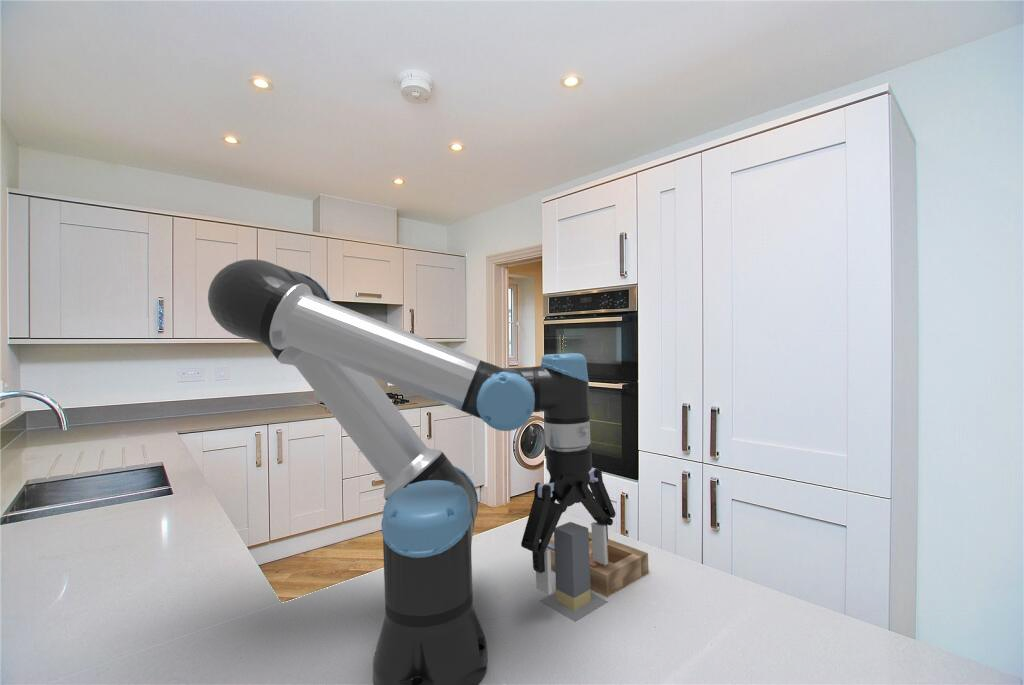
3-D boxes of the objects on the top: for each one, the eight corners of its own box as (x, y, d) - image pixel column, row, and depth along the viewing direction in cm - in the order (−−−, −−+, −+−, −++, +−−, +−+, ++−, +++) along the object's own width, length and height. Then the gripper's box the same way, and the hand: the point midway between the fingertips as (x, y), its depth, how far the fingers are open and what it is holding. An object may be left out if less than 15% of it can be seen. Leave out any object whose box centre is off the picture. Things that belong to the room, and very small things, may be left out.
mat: (575, 624, 71) (575, 621, 71) (539, 603, 77) (539, 600, 77) (608, 604, 76) (608, 601, 76) (572, 586, 83) (572, 583, 83)
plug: (574, 610, 74) (571, 534, 74) (556, 601, 77) (553, 528, 77) (590, 601, 77) (588, 528, 77) (572, 592, 80) (570, 521, 80)
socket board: (607, 599, 78) (606, 572, 78) (533, 563, 92) (533, 541, 92) (648, 575, 86) (647, 550, 86) (575, 545, 99) (574, 524, 99)
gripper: (527, 464, 66) (534, 615, 66) (632, 437, 82) (637, 558, 82) (494, 456, 72) (500, 595, 72) (598, 432, 88) (603, 545, 88)
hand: (573, 575), depth 77 cm, fingers open, 13 cm apart
